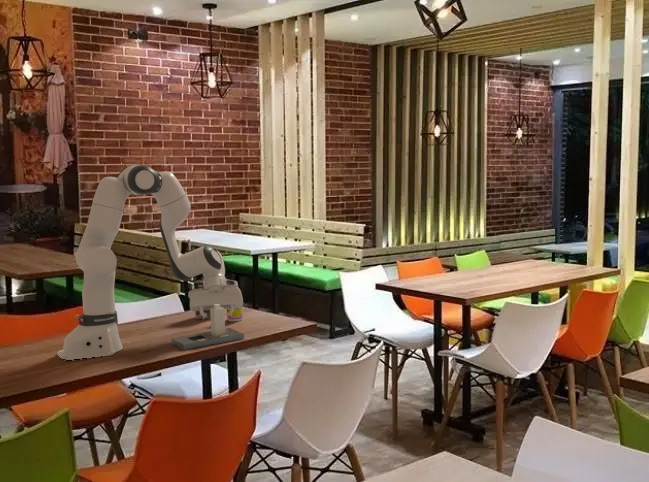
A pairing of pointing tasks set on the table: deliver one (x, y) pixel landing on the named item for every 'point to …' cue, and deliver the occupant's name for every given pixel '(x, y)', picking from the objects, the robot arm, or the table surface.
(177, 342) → the panel
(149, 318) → the table surface
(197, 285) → the coffee box
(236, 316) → the supplement bottle
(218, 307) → the plug
